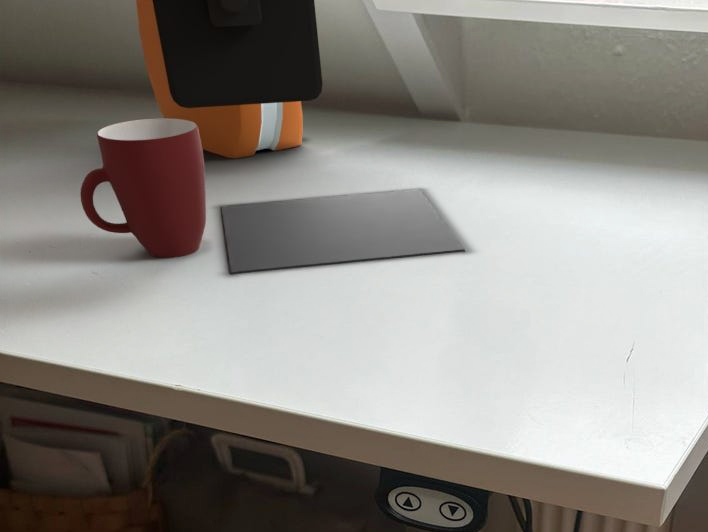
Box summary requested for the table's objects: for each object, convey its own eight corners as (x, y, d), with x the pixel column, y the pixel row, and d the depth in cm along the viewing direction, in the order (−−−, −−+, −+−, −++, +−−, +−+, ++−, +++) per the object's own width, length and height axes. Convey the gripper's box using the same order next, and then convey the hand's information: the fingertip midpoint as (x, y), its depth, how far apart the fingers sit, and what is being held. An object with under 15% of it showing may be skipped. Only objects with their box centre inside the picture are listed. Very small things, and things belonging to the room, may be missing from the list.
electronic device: (324, 100, 64) (305, -86, 57) (173, 109, 62) (136, -82, 55) (315, 88, 67) (297, -89, 61) (171, 97, 65) (136, -86, 58)
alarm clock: (321, 149, 112) (294, -91, 98) (250, 165, 107) (210, -86, 92) (225, 122, 125) (189, -95, 110) (158, 134, 120) (110, -91, 105)
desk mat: (231, 279, 78) (230, 272, 78) (222, 212, 93) (221, 205, 93) (465, 256, 82) (465, 249, 81) (420, 195, 97) (419, 188, 96)
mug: (116, 283, 78) (82, 150, 71) (87, 257, 83) (52, 131, 77) (235, 257, 82) (212, 130, 76) (201, 234, 87) (177, 114, 81)
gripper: (111, -365, 55) (177, 6, 67) (88, -430, 43) (175, 41, 55) (240, -361, 57) (283, 3, 68) (255, -423, 44) (304, 36, 56)
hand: (235, 16), depth 61 cm, fingers closed on electronic device, 4 cm apart
